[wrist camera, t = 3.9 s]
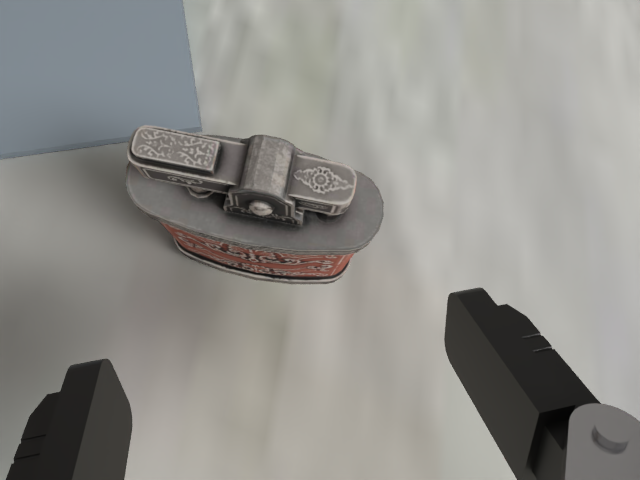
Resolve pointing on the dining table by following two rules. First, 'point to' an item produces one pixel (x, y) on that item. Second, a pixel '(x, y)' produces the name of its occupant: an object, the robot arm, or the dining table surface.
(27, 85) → the pad
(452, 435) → the dining table surface
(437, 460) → the dining table surface
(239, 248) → the lighter
